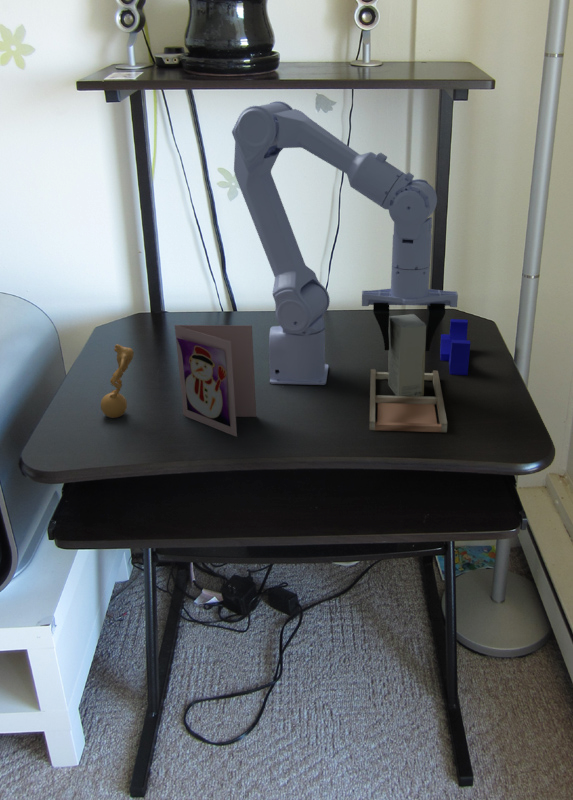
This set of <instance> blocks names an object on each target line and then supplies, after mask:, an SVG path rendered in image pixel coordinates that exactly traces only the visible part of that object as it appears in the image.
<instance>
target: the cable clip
mask: <svg viewBox="0 0 573 800" xmlns="http://www.w3.org/2000/svg"><path fill="white" fill-rule="evenodd" d="M449 324H450V325H449V333H448V334H445V333H443V334H442V333H441V334H440V346H439V350H440V351H439V356H440V357H439V358H440V359H439V360H440V362H441V361H442V362H444V361H445V362H448V369H449V375H453V376H454V375H455V376H468V375H469V363H470V354H471V353H470V352H471V340H470V339H469V340H468V324H469V322H468V319H459V318H456V319H455V318H450V323H449Z"/></svg>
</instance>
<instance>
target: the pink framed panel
mask: <svg viewBox="0 0 573 800" xmlns="http://www.w3.org/2000/svg"><path fill="white" fill-rule="evenodd" d="M376 380H388V371H386V372H385V371H376V369H375V368H371V369H370V387H369V388H370V389H369V390H370V391H369V396H370V397H369V426H368V427H369V431H386V432H387V431H389V432H390V431H391V432H392V431H393V432H394V431H395V432H421V433H423V432H424V433H447V432H448V420H447V414H446V409H445V403H444V397H443V392H442V386H441V382H440V381H441V380H440V376H439V371H438V370H432V372H431V373H430V372H425V373H424V381H432V385H433V390H434V396H396V395H384V394H383V395H382V394H381V395H379V394H378V395H377V394H376ZM376 404H377V421H376ZM435 405H436V407H435ZM436 411H437V413H436ZM437 414H438V415H437ZM437 416H438V419H437Z"/></svg>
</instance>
